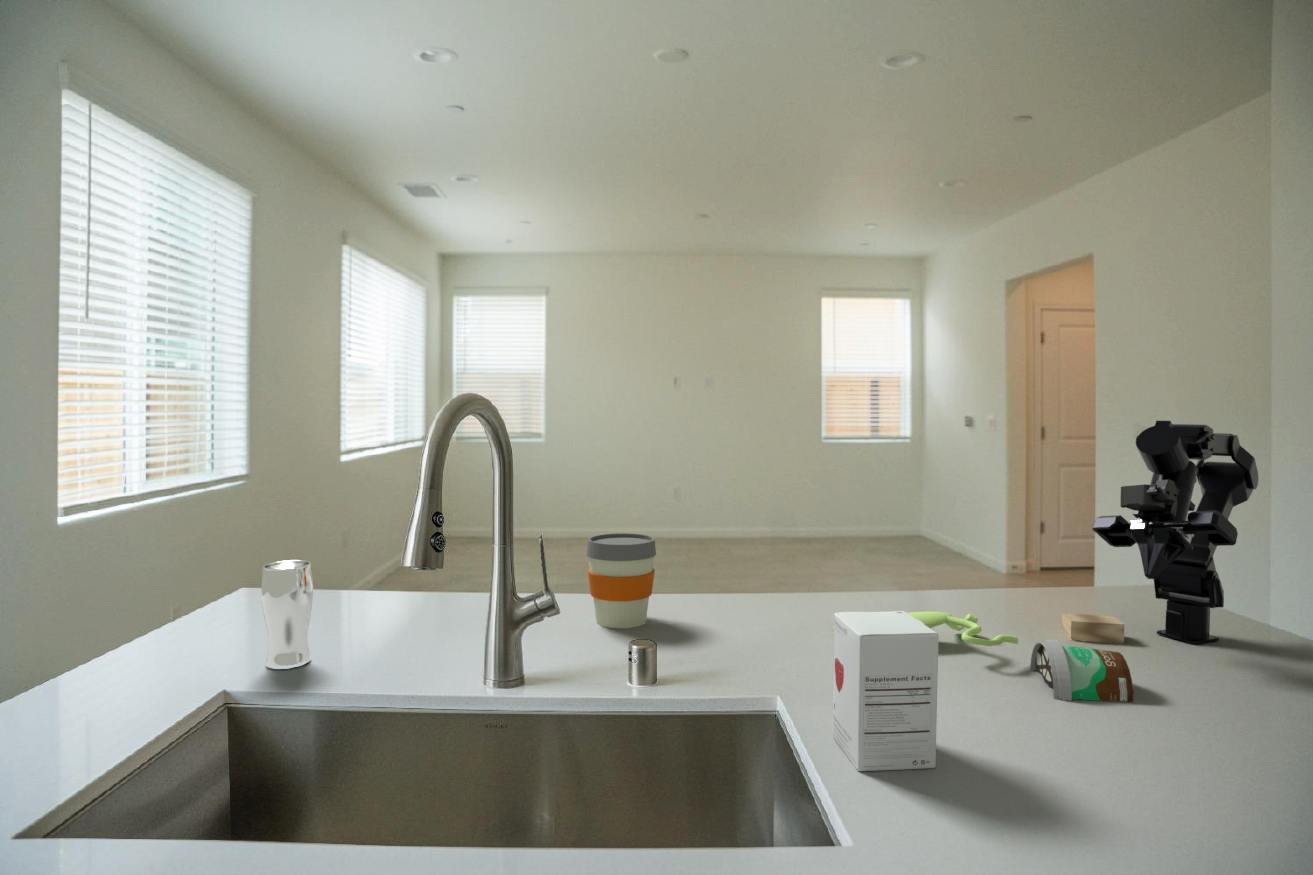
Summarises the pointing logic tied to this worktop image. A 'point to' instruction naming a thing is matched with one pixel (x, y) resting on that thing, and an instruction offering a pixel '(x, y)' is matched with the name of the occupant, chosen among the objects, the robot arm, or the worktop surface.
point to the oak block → (1093, 628)
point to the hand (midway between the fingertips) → (1149, 577)
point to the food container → (1082, 672)
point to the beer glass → (287, 610)
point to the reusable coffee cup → (621, 578)
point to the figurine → (961, 627)
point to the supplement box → (885, 690)
